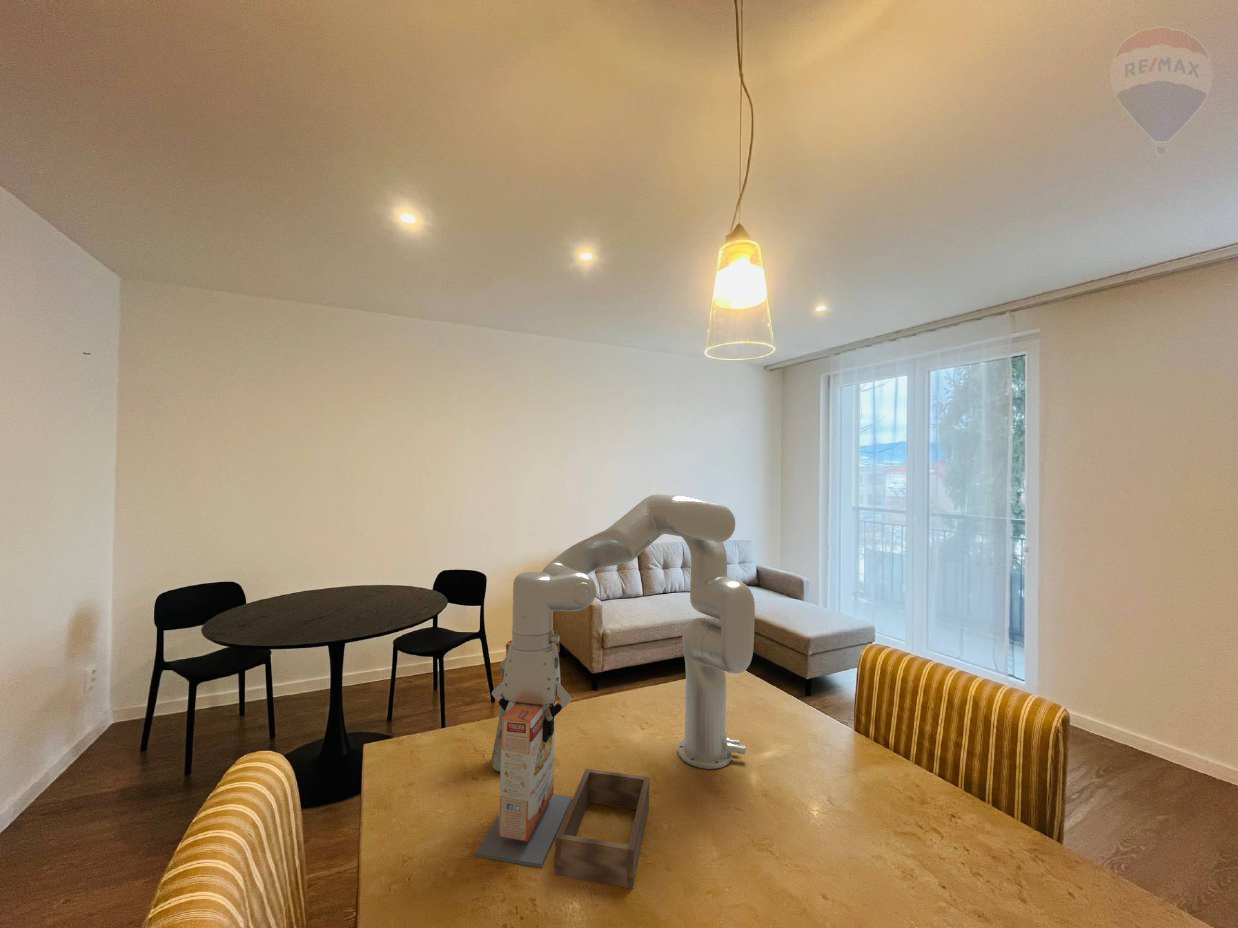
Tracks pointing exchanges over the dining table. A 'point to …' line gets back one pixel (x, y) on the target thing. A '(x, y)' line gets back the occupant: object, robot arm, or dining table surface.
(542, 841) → the slate mat
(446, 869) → the dining table surface
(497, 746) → the bottle
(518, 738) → the cracker box
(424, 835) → the dining table surface
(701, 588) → the robot arm
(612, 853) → the walnut crate
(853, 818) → the dining table surface
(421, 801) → the dining table surface
